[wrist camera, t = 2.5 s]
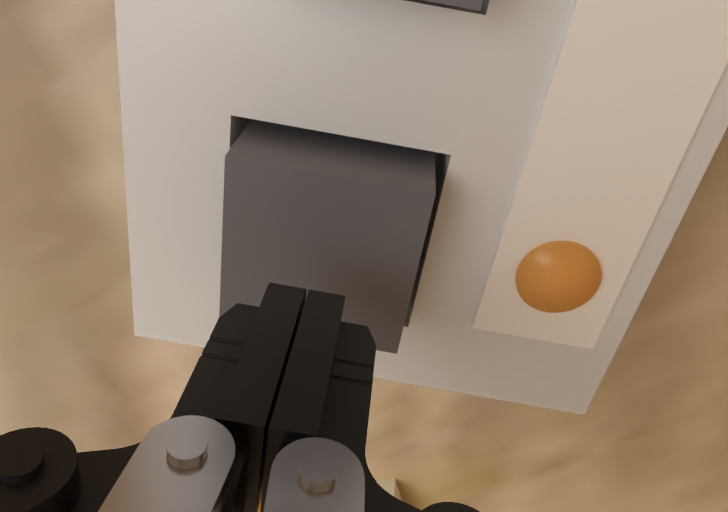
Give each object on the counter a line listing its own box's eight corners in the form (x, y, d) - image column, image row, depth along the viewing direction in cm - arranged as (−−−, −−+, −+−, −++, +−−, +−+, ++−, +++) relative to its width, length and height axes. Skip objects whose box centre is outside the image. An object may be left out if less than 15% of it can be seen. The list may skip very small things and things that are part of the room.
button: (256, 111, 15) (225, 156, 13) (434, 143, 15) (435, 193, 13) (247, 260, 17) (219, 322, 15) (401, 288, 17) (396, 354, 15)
